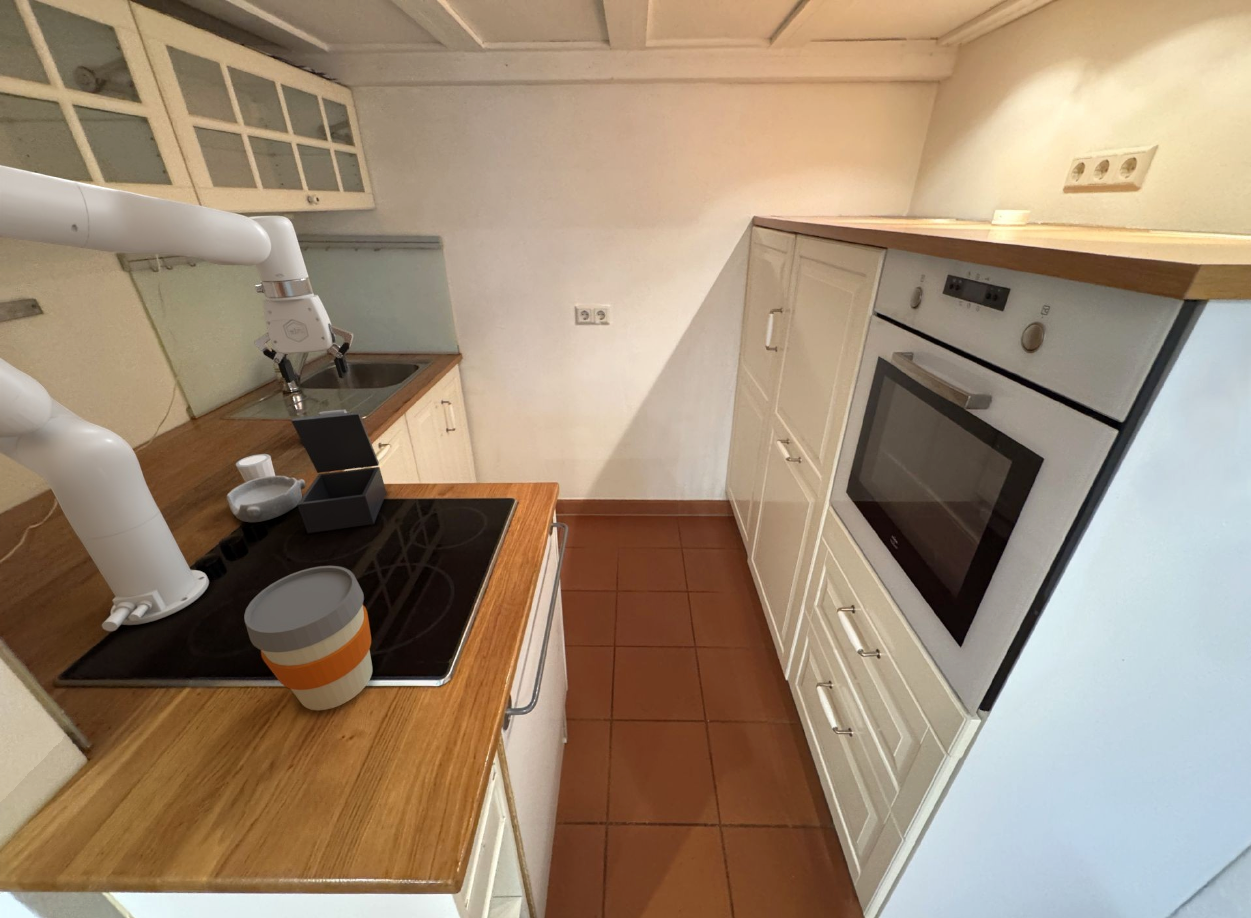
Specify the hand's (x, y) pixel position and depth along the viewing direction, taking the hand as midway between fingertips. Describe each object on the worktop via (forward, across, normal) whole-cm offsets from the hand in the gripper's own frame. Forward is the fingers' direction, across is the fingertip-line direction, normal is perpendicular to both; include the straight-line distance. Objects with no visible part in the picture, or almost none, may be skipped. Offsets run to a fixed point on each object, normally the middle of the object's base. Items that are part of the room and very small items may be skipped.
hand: (317, 378), depth 100 cm
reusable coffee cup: (+28, +10, -53) cm, 61 cm away
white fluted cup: (+29, -24, +14) cm, 40 cm away
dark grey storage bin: (+28, 0, -5) cm, 29 cm away
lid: (+14, 0, 0) cm, 14 cm away
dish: (+29, -18, +2) cm, 34 cm away
